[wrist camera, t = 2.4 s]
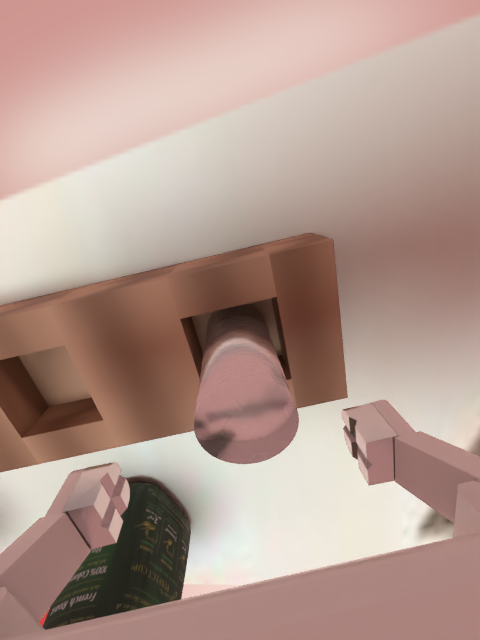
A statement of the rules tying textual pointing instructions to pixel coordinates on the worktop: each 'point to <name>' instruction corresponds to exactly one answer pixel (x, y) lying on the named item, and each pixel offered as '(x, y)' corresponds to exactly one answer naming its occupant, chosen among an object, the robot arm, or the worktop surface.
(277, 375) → the pin
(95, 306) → the board
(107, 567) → the coffee jar
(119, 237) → the worktop surface
